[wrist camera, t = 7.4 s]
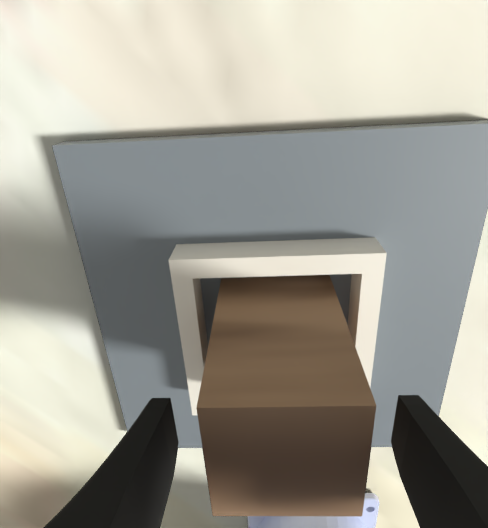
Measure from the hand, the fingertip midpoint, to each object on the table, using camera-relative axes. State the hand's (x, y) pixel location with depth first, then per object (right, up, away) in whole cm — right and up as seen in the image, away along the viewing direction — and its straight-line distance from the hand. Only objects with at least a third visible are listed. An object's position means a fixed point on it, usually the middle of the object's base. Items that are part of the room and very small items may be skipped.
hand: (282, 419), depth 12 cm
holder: (0, +3, +6) cm, 6 cm away
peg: (0, +2, +5) cm, 5 cm away
